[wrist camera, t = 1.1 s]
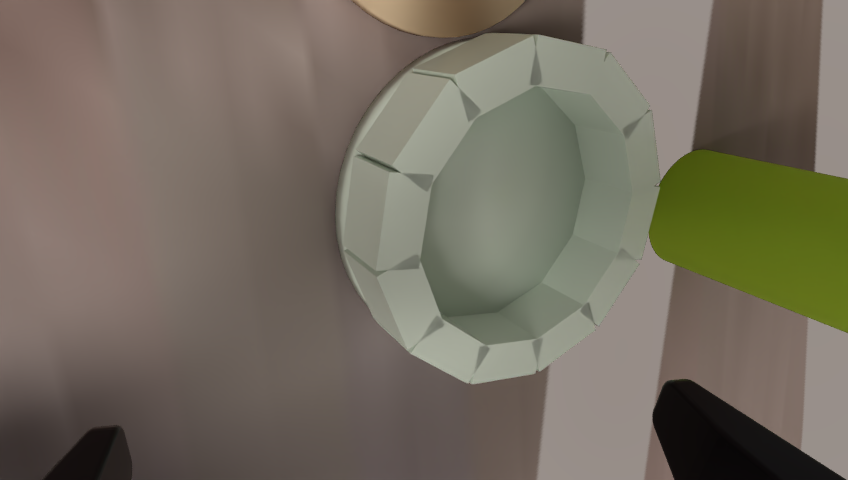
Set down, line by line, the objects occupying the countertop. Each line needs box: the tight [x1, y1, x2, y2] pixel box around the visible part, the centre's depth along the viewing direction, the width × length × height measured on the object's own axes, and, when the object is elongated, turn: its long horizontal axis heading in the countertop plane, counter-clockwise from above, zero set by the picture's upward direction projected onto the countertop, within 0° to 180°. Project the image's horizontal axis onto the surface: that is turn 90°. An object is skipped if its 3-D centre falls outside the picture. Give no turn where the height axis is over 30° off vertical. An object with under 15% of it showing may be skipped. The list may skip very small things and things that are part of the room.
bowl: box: [335, 33, 661, 384], centre depth 22 cm, size 12×12×4 cm
